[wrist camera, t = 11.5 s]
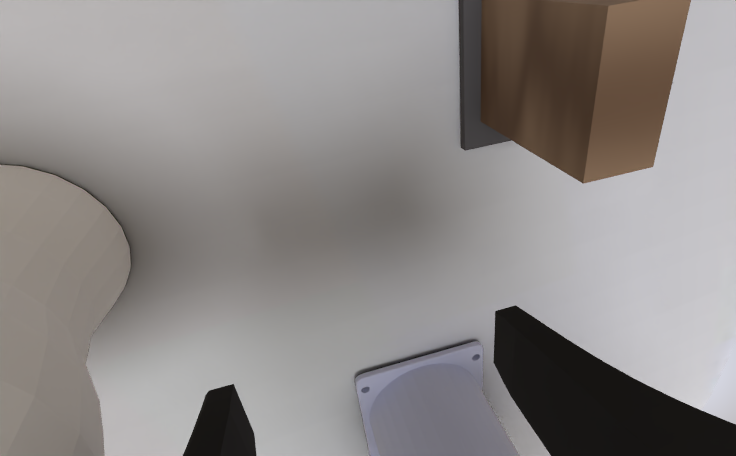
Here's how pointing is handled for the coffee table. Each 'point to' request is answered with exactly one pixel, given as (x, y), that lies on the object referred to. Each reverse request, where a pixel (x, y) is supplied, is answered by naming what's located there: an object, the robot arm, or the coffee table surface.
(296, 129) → the coffee table surface
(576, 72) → the brown wooden block
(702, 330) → the coffee table surface
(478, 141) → the pad
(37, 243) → the cream vase
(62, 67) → the coffee table surface
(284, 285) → the coffee table surface
